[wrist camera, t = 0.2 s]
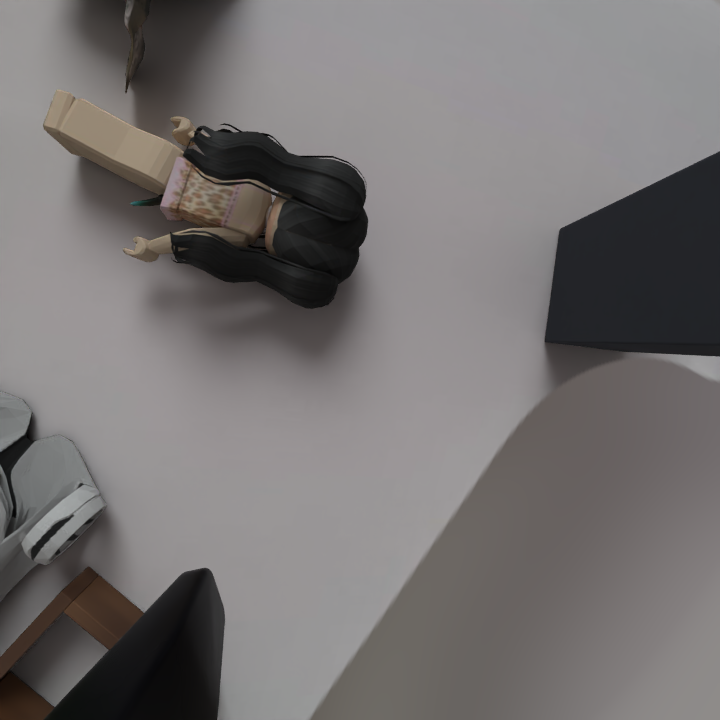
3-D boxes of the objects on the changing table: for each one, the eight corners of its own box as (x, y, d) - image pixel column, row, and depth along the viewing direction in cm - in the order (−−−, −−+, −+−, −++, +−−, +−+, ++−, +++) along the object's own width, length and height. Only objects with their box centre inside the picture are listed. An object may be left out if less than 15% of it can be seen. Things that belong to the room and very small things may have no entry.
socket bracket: (219, 675, 25) (206, 712, 23) (123, 779, 25) (100, 827, 23) (88, 565, 25) (60, 591, 22) (-10, 671, 25) (-49, 709, 22)
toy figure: (57, 242, 24) (341, 326, 24) (-43, 187, 18) (341, 300, 18) (103, 113, 25) (380, 196, 25) (22, 16, 18) (393, 128, 19)
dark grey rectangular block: (625, 351, 26) (923, 366, 13) (544, 341, 25) (762, 346, 12) (641, 239, 25) (962, 136, 12) (559, 228, 25) (798, 111, 12)
